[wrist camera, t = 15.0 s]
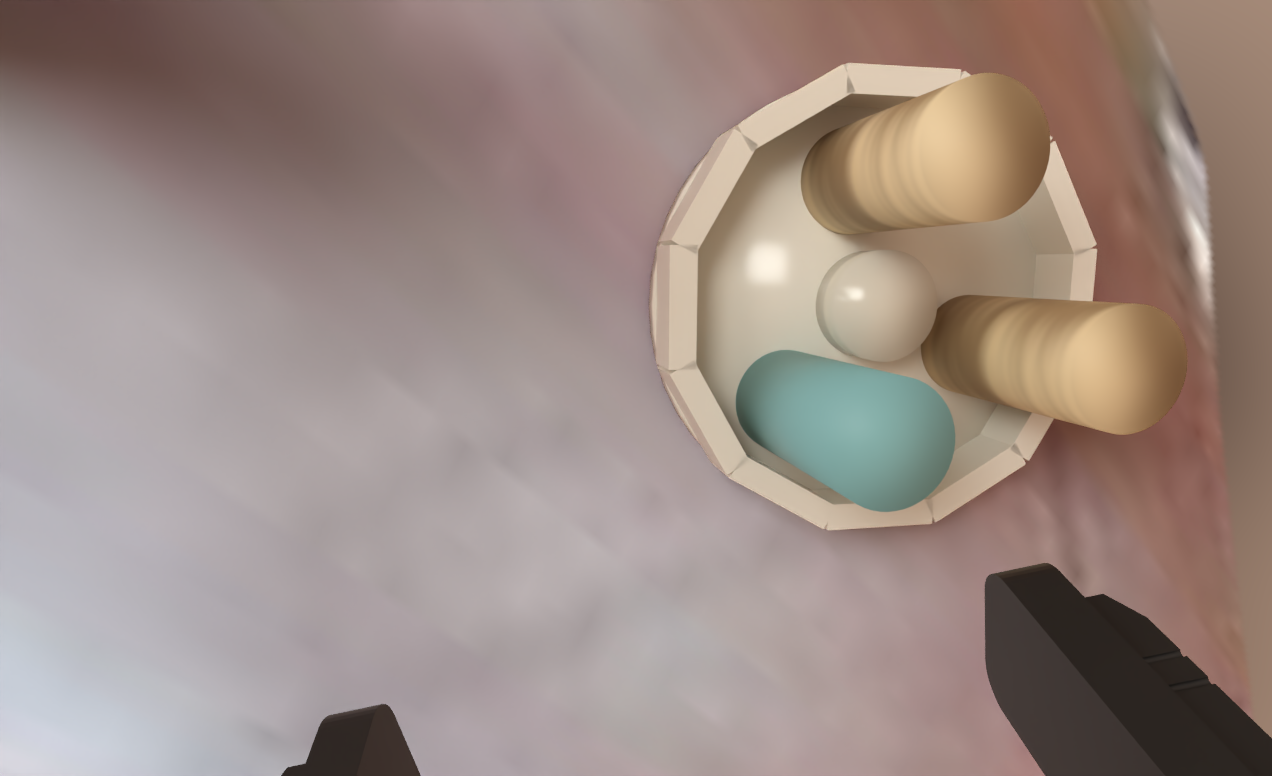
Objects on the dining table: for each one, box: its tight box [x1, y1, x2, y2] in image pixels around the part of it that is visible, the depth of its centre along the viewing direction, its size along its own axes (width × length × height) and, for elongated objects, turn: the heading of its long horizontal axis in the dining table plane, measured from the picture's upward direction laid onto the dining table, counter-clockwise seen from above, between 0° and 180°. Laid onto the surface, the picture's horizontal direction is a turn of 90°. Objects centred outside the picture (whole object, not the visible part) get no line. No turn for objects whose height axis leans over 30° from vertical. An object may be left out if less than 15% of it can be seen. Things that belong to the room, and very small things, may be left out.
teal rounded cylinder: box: [736, 350, 955, 512], centre depth 32 cm, size 5×5×10 cm
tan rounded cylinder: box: [801, 73, 1050, 235], centre depth 31 cm, size 5×5×10 cm
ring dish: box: [649, 63, 1097, 530], centre depth 36 cm, size 20×20×4 cm
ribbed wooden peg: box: [921, 295, 1187, 435], centre depth 33 cm, size 5×5×10 cm
